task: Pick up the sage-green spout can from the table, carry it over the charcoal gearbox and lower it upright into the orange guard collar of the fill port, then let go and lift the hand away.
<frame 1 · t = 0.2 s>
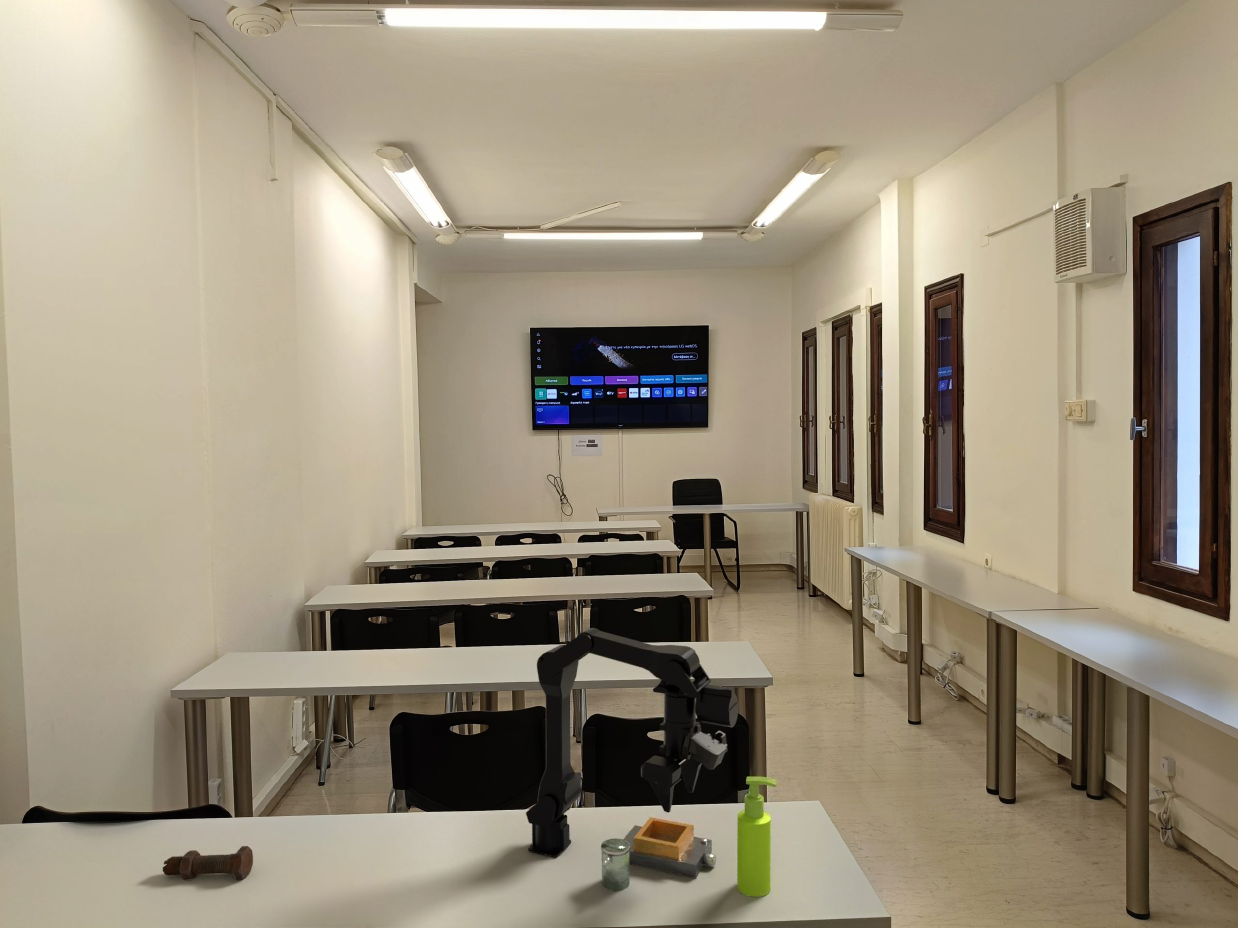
hand: (678, 801, 155), 14 cm above the table, tool pointing down, fingers open, 9 cm apart
bolt: (207, 877, 157), on the table
spout can: (615, 882, 154), on the table
gearbox: (664, 856, 163), on the table
soap dispenser: (756, 889, 152), on the table
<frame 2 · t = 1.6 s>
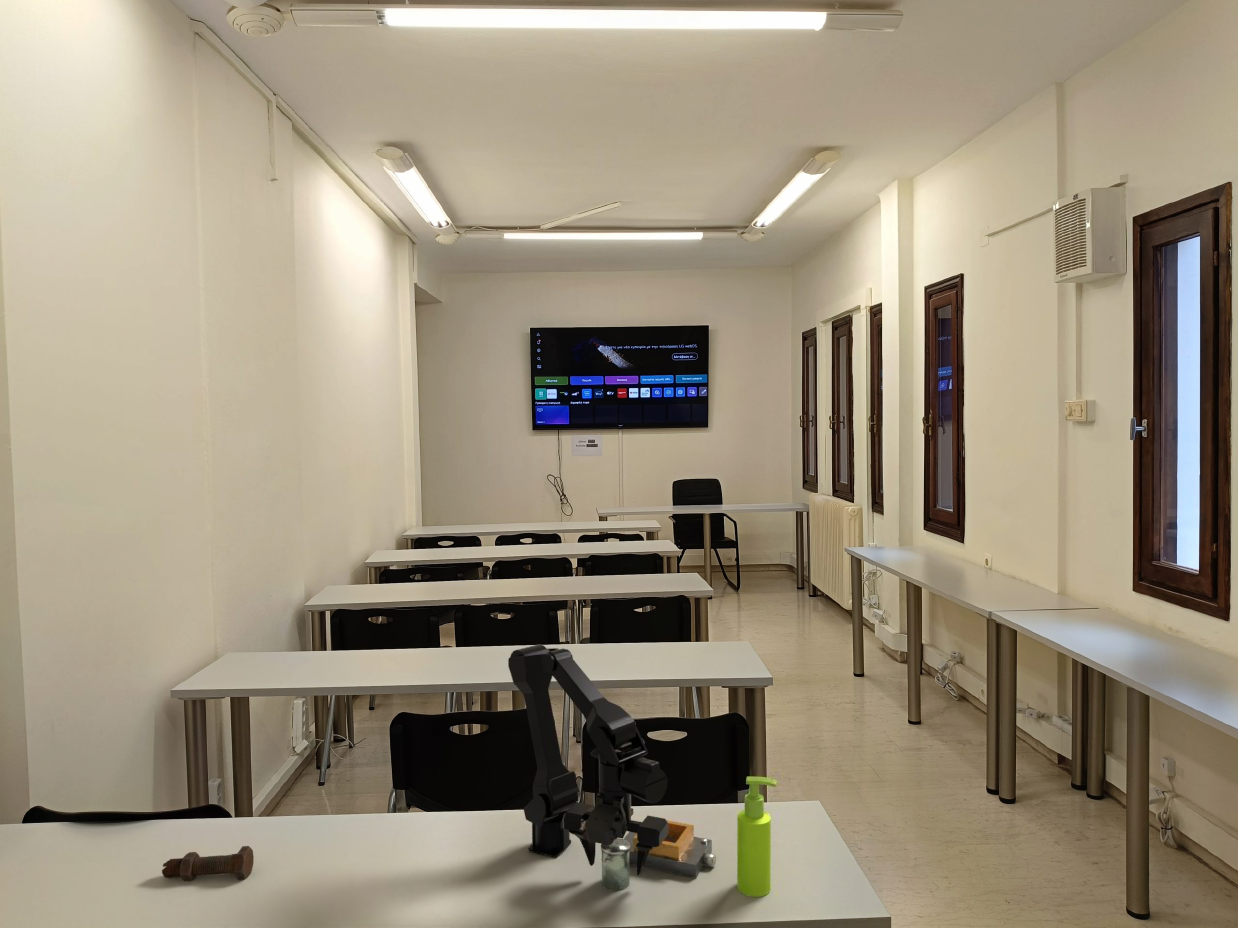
hand: (615, 869, 153), 2 cm above the table, tool pointing down, fingers open, 9 cm apart
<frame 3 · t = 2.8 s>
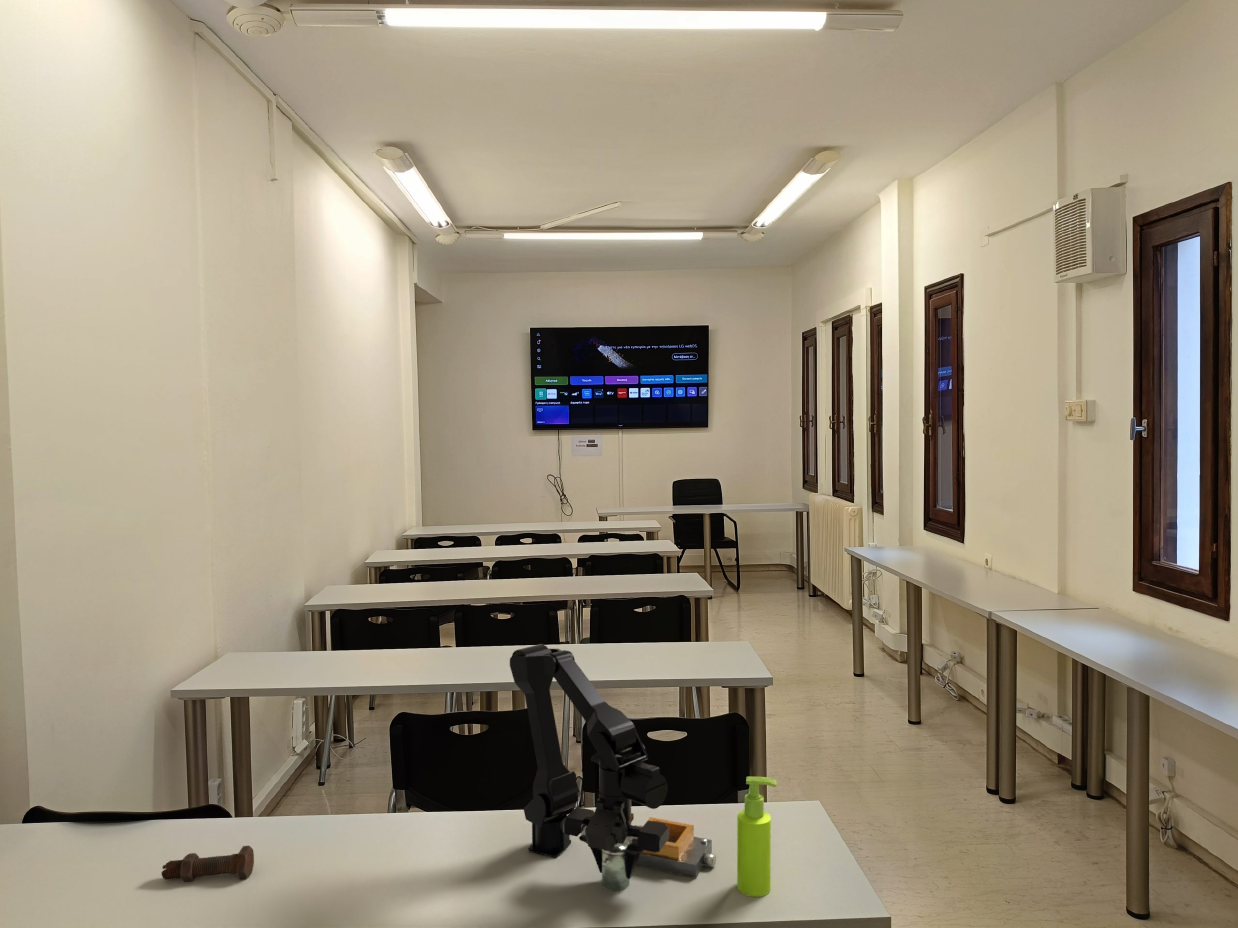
hand: (615, 874, 153), 2 cm above the table, tool pointing down, fingers closed on spout can, 5 cm apart
spout can: (615, 882, 154), on the table, touching gripper
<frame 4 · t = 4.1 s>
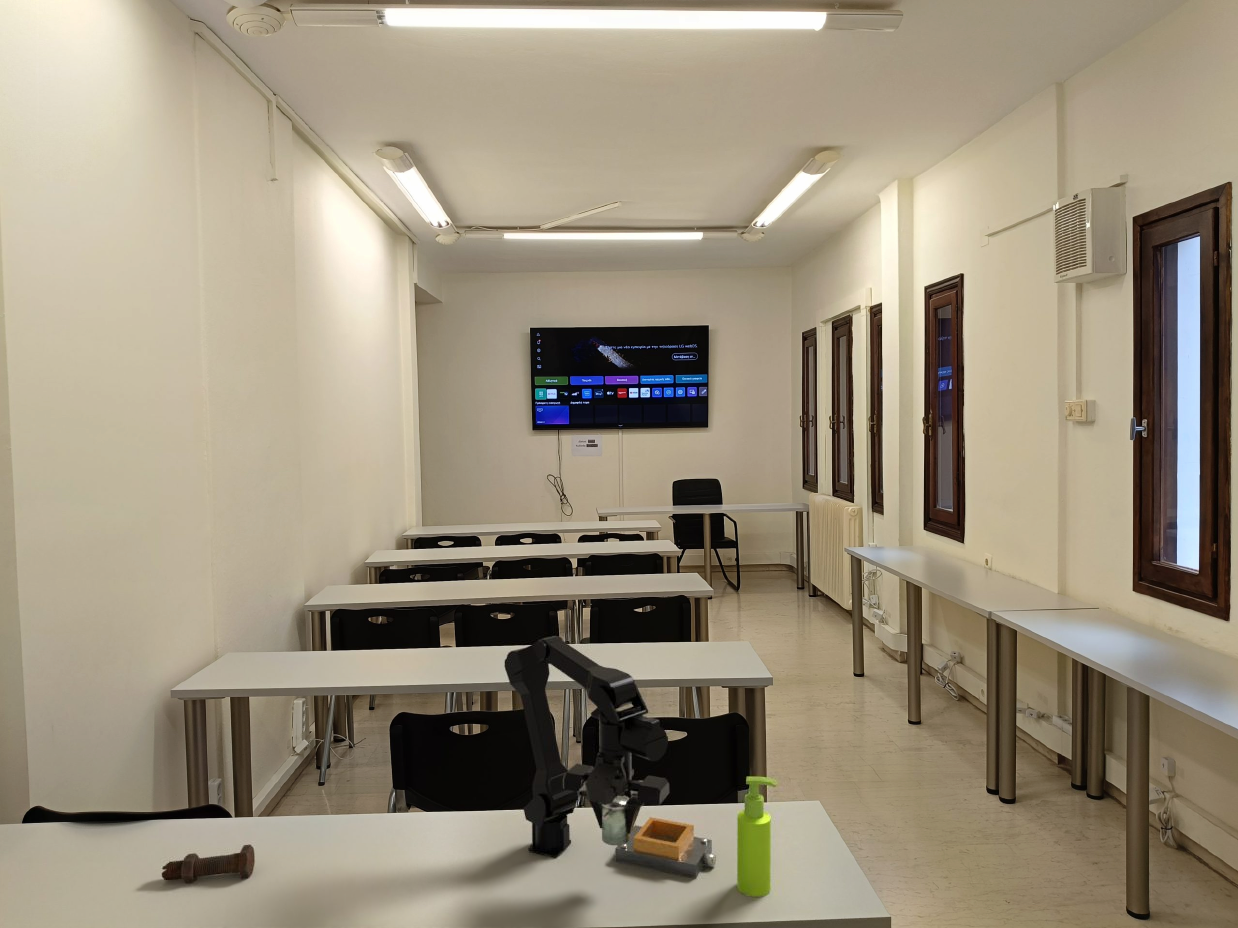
hand: (615, 829, 153), 10 cm above the table, tool pointing down, fingers closed on spout can, 5 cm apart
spout can: (615, 838, 153), point 8 cm above the table, touching gripper
everything else where it was.
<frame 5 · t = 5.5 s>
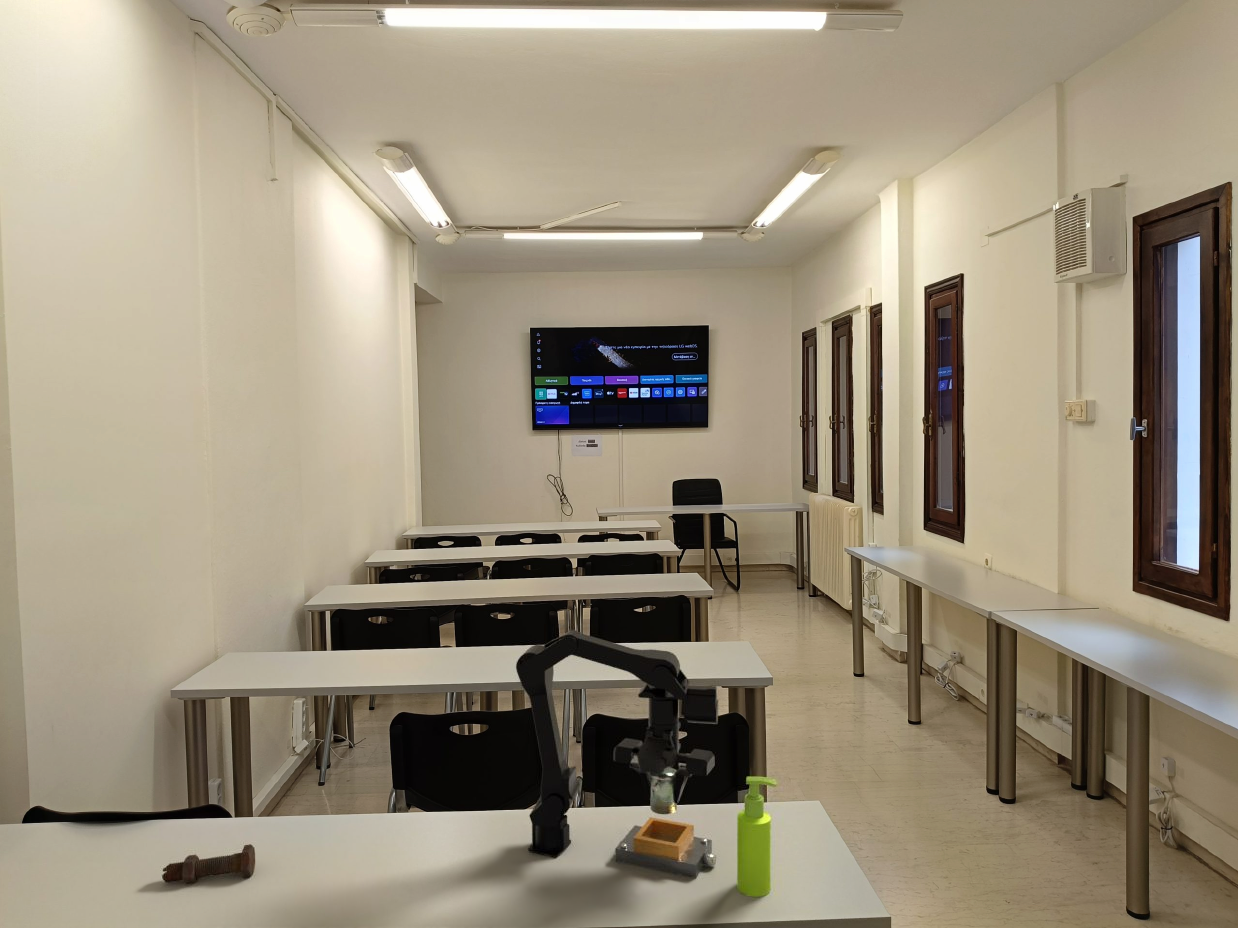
hand: (663, 800, 162), 11 cm above the table, tool pointing down, fingers closed on spout can, 5 cm apart
spout can: (663, 808, 162), point 10 cm above the table, touching gripper
when the fingers open (6 cm above the table, at t = 7.3 s): spout can drops 2 cm, resting on gearbox.
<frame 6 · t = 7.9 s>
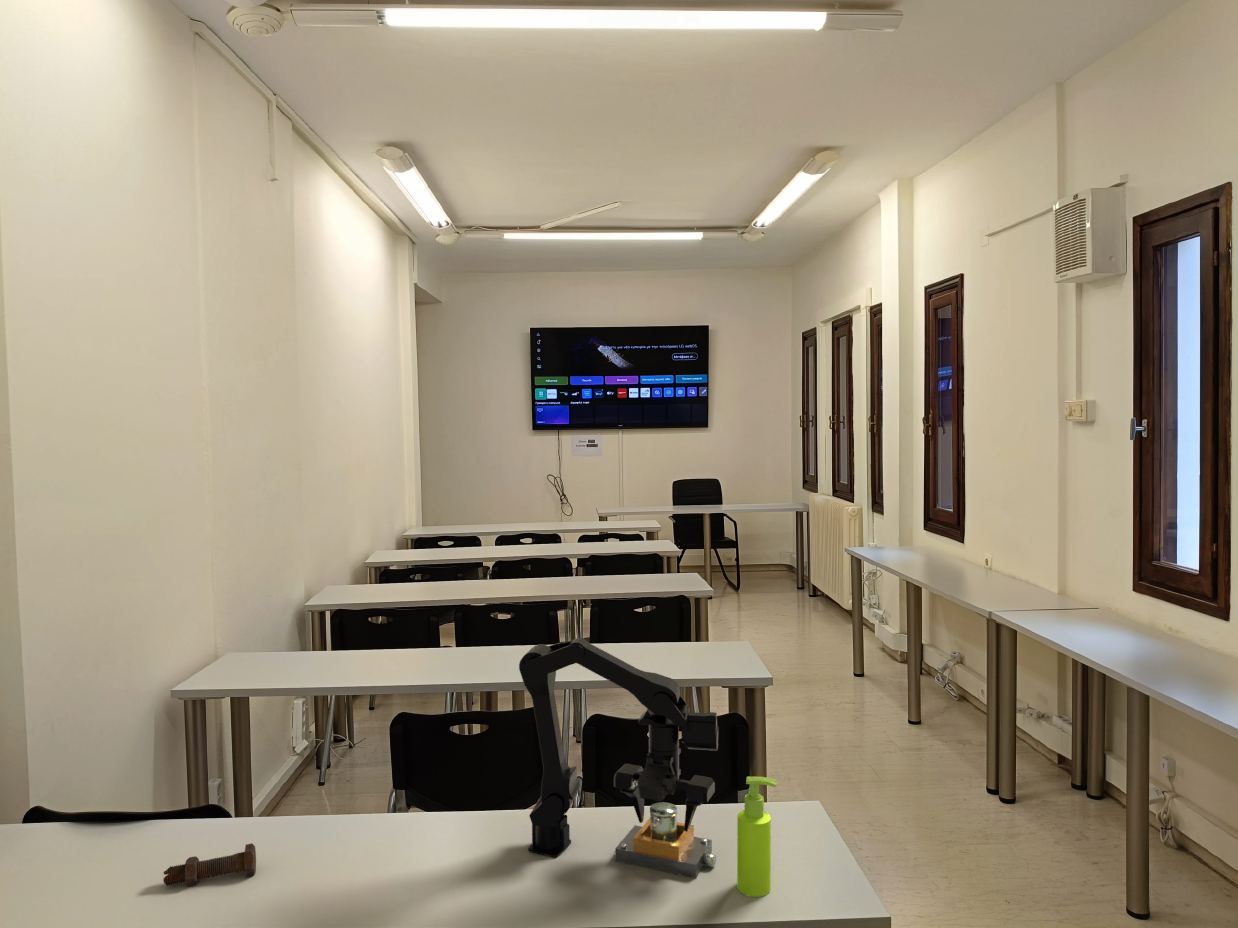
hand: (663, 826, 162), 6 cm above the table, tool pointing down, fingers open, 9 cm apart
spout can: (663, 844, 163), point 2 cm above the table, touching gearbox
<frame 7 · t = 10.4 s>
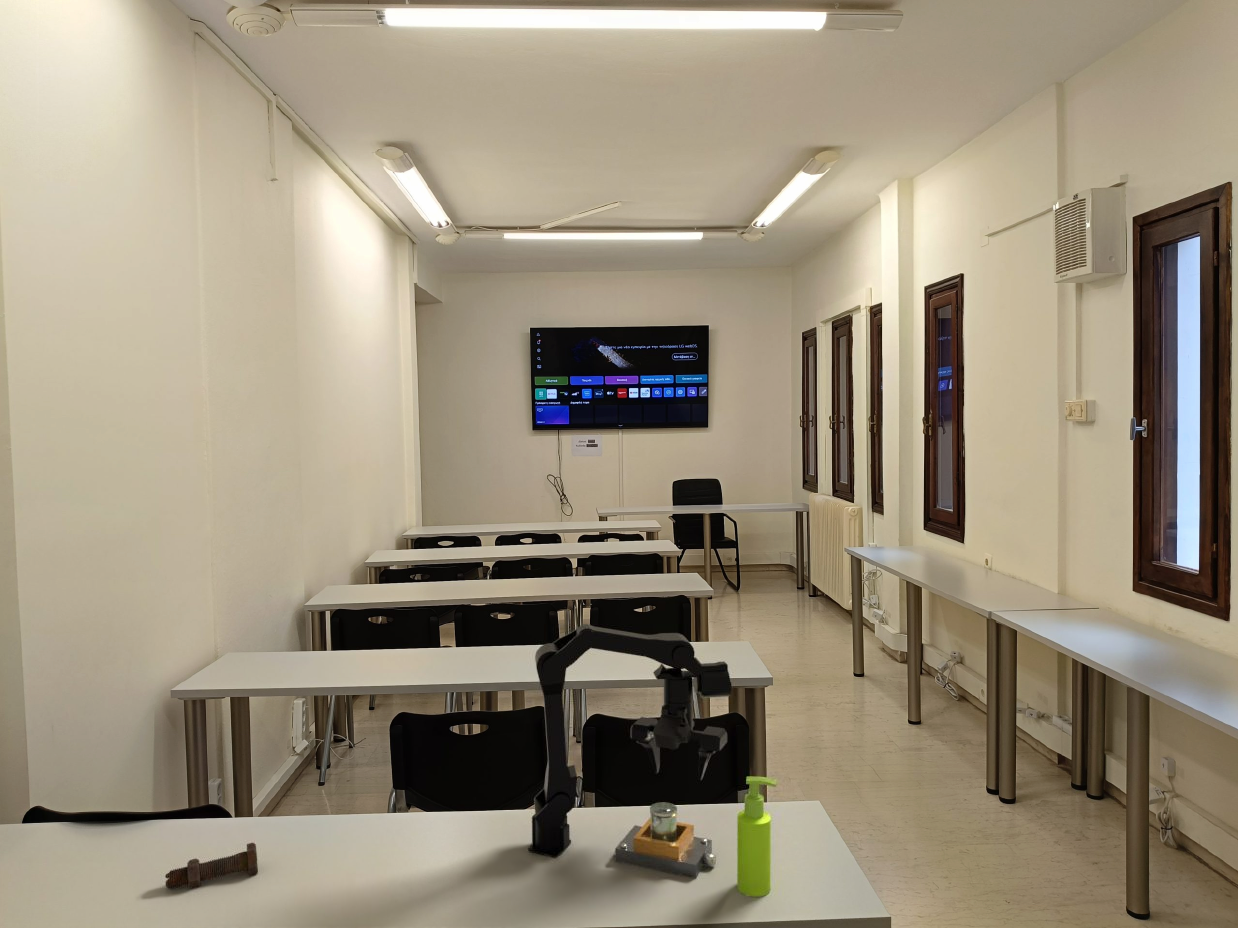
hand: (678, 775, 169), 13 cm above the table, tool pointing down, fingers open, 9 cm apart
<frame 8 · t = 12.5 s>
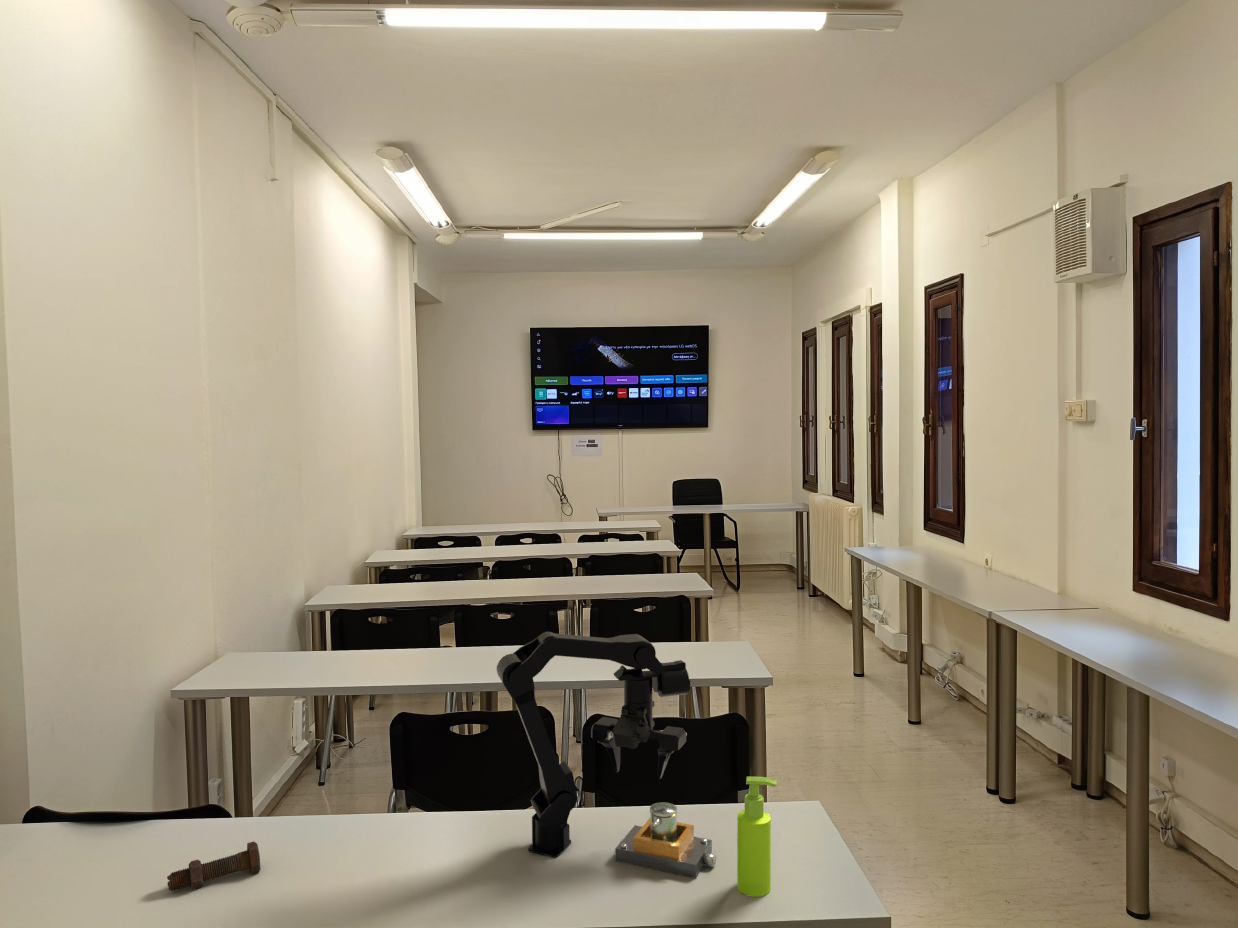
hand: (638, 774, 172), 12 cm above the table, tool pointing down, fingers open, 9 cm apart
at the end: spout can 0.1 cm off-centre on the gearbox, point 2.5 cm above the gearbox's base; spout can tilted 0°; the gripper is holding nothing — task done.
